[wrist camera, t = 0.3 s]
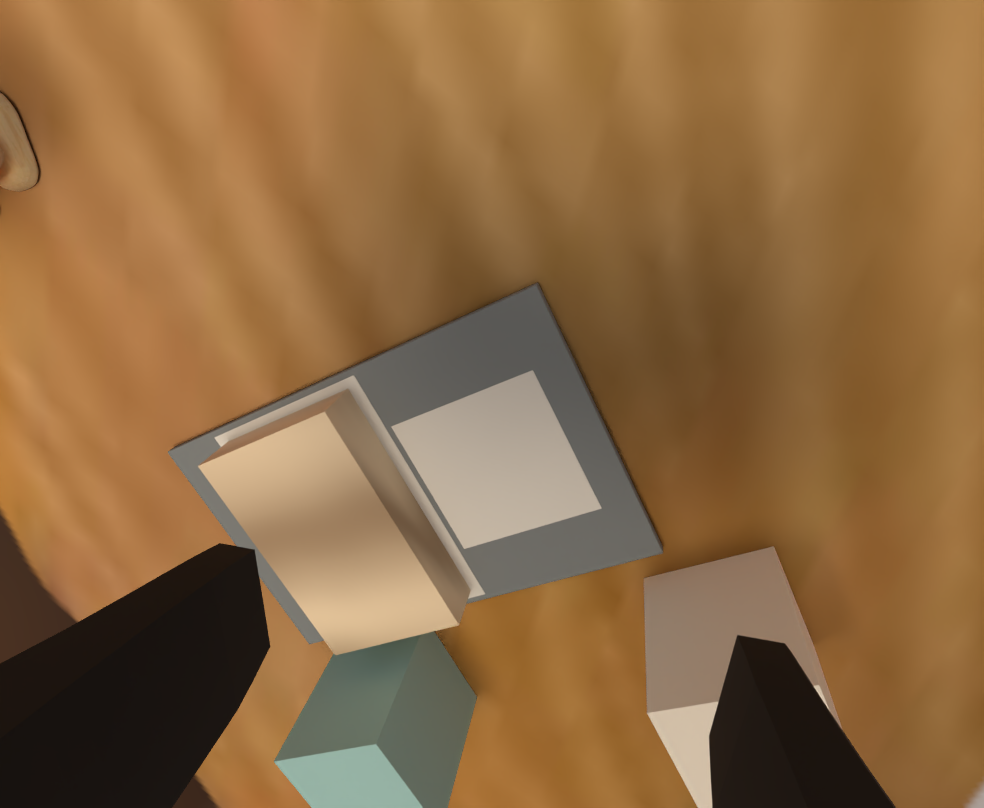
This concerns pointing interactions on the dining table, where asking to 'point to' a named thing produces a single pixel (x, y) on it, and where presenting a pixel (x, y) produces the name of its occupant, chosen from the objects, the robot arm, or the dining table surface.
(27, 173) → the grandmother figurine
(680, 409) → the dining table surface
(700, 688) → the cream block
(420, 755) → the teal block
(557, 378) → the slate mat
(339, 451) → the beech brick
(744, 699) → the robot arm
